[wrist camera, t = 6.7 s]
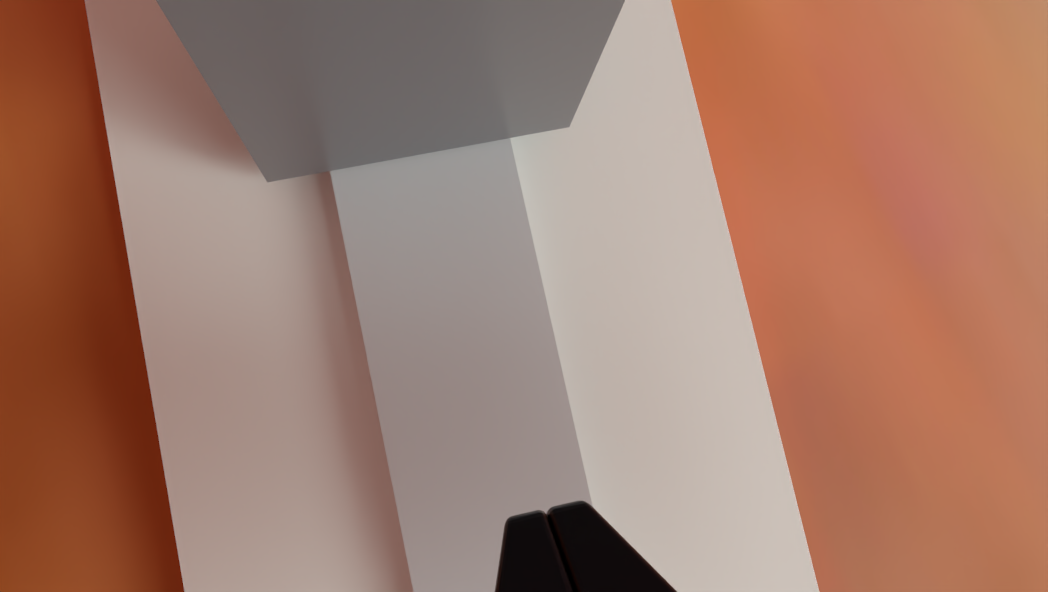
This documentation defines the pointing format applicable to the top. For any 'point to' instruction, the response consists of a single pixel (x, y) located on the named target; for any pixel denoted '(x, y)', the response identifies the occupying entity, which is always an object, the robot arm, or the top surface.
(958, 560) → the top surface
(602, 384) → the rail plate
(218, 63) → the plate
